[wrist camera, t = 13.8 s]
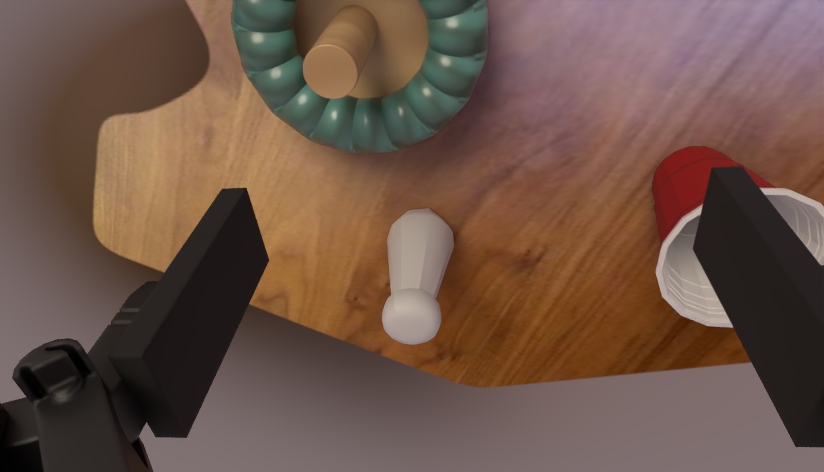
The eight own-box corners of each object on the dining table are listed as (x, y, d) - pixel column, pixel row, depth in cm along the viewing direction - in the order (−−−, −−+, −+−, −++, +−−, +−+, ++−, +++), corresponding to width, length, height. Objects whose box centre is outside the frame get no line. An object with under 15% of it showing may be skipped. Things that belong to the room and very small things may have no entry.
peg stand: (266, -54, 38) (209, -22, 30) (427, -71, 37) (416, -43, 28) (300, 100, 45) (262, 163, 36) (440, 90, 43) (433, 153, 35)
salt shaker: (458, 202, 49) (456, 304, 38) (451, 255, 52) (447, 361, 42) (391, 196, 49) (370, 295, 39) (388, 248, 52) (368, 353, 42)
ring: (212, -101, 36) (187, -94, 32) (484, -131, 34) (486, -127, 30) (275, 144, 45) (261, 168, 42) (489, 132, 43) (491, 156, 40)
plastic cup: (734, 85, 41) (817, 162, 32) (779, 192, 46) (863, 288, 36) (595, 158, 46) (630, 246, 36) (649, 249, 50) (693, 349, 40)
